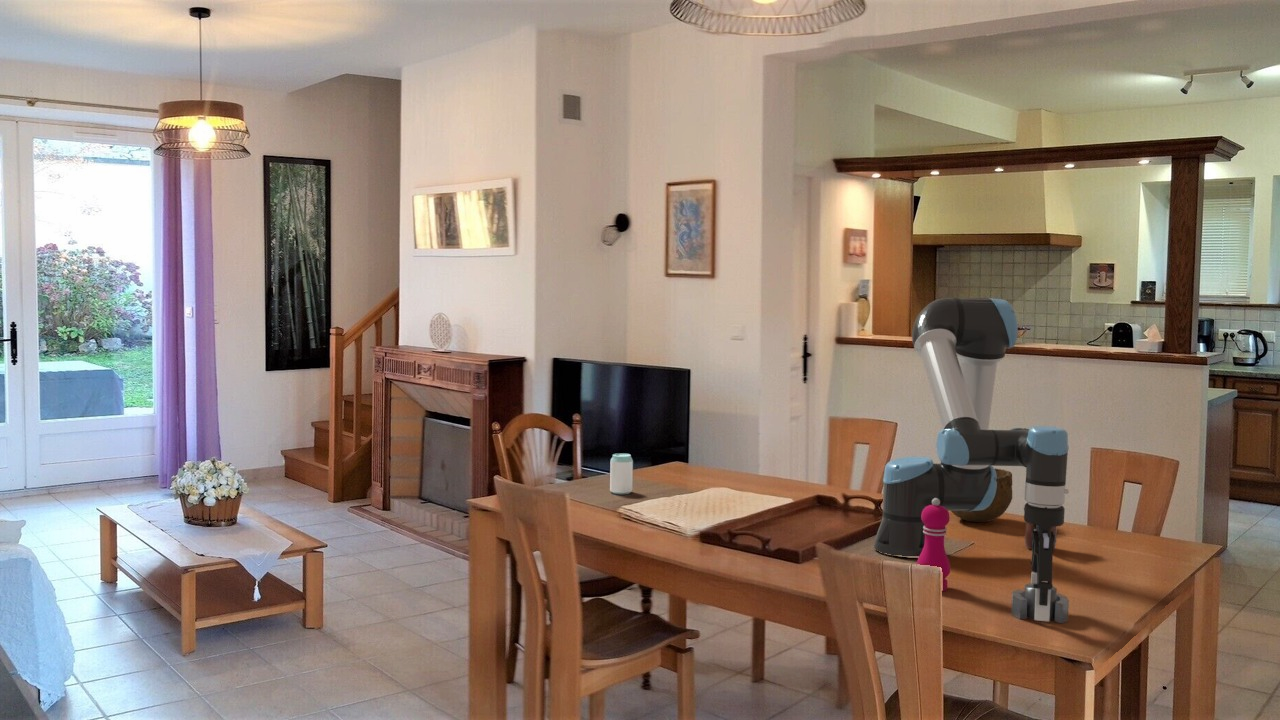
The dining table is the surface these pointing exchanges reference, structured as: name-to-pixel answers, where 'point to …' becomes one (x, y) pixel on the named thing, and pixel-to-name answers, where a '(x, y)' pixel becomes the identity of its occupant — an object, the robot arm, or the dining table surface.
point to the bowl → (998, 503)
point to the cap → (1030, 597)
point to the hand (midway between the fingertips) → (1039, 611)
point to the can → (621, 474)
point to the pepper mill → (935, 538)
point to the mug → (1029, 535)
